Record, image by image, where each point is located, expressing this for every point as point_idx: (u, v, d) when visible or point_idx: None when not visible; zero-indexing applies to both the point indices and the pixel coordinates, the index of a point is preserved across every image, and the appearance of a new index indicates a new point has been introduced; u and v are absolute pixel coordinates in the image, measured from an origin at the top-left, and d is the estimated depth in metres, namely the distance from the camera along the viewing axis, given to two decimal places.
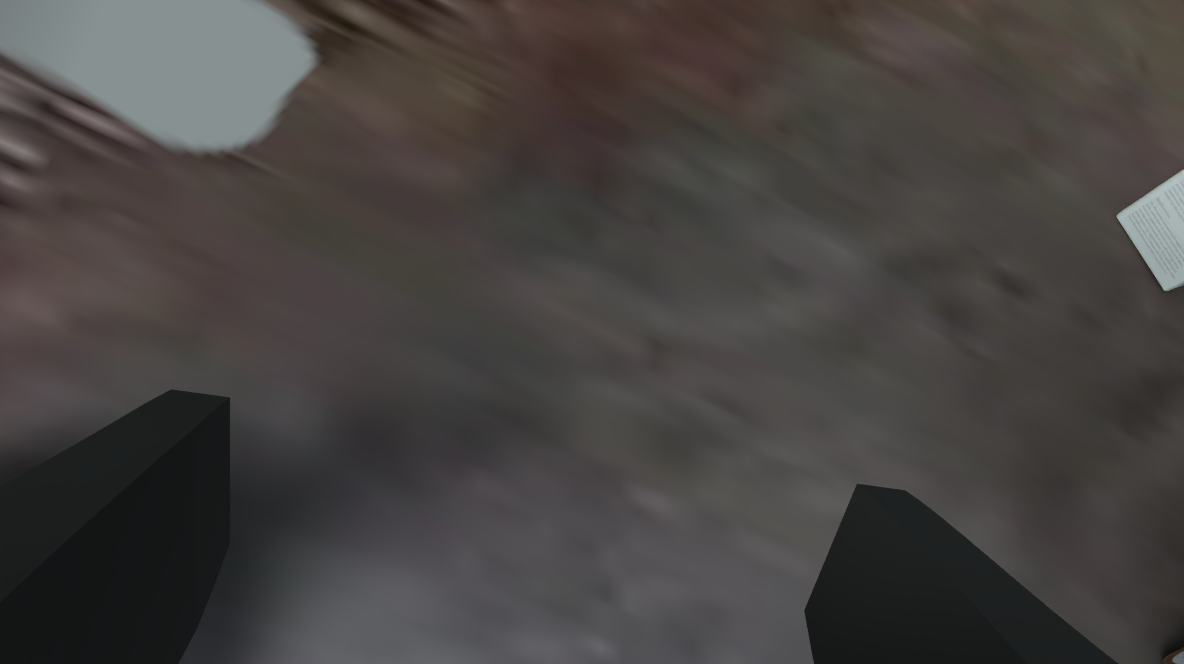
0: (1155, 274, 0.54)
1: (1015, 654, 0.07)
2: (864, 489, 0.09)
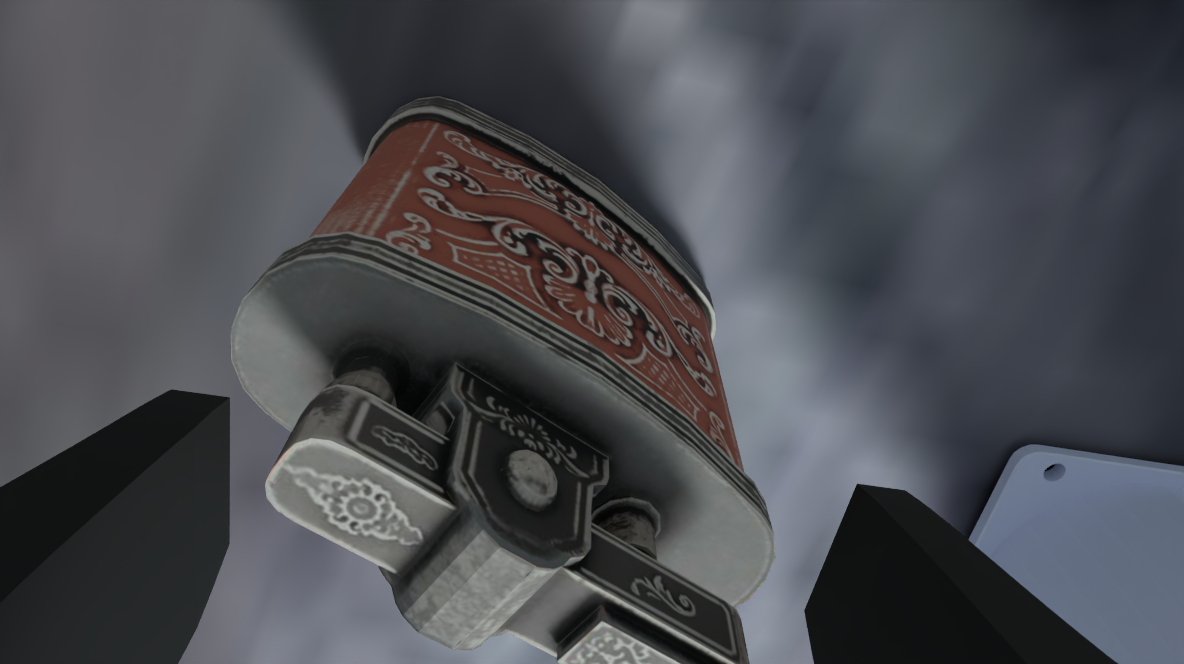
0: None
1: (1016, 654, 0.07)
2: (864, 490, 0.09)
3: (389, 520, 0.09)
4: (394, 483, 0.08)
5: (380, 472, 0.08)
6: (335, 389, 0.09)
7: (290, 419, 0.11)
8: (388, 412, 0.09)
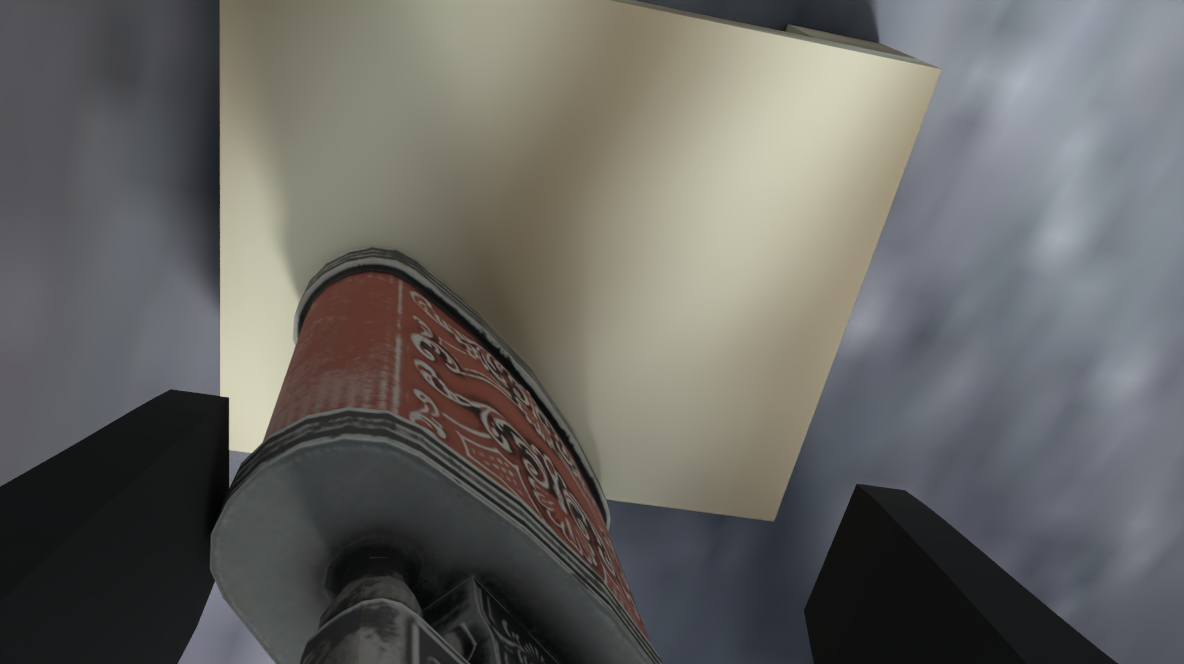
0: None
1: (1015, 654, 0.07)
2: (863, 488, 0.09)
3: None
4: None
5: None
6: (383, 605, 0.08)
7: (251, 611, 0.09)
8: (433, 638, 0.08)
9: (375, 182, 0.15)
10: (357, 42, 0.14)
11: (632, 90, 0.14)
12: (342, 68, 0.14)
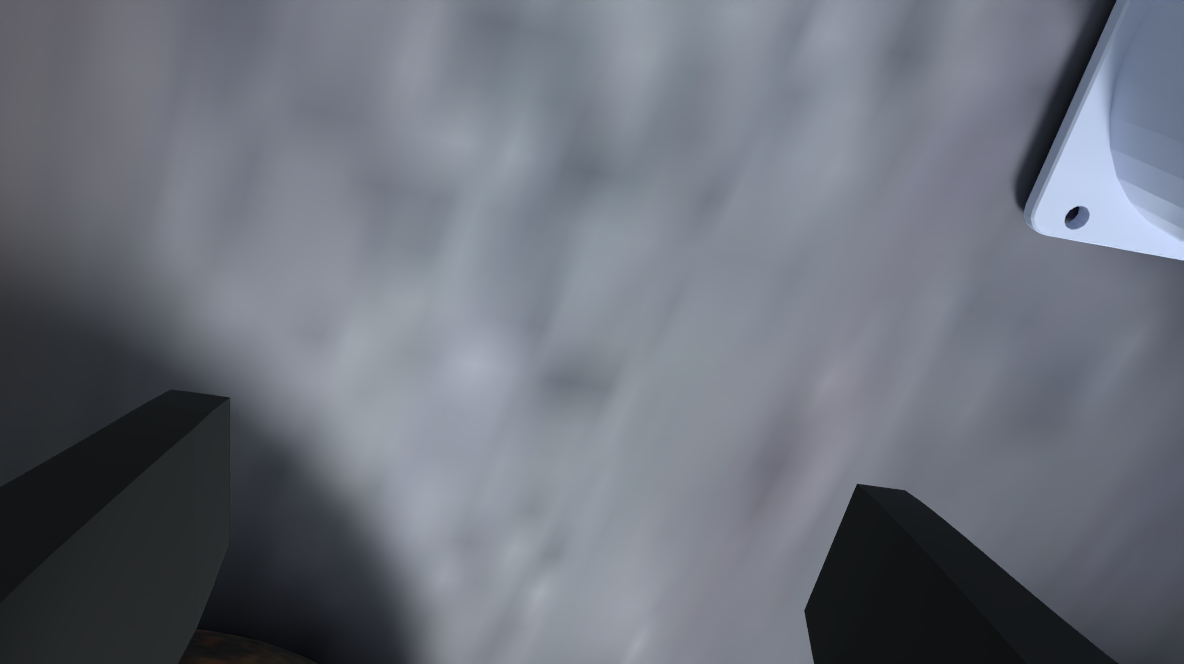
0: None
1: (1015, 654, 0.07)
2: (864, 490, 0.09)
3: None
4: None
5: None
6: None
7: None
8: None
9: None
10: None
11: None
12: None
